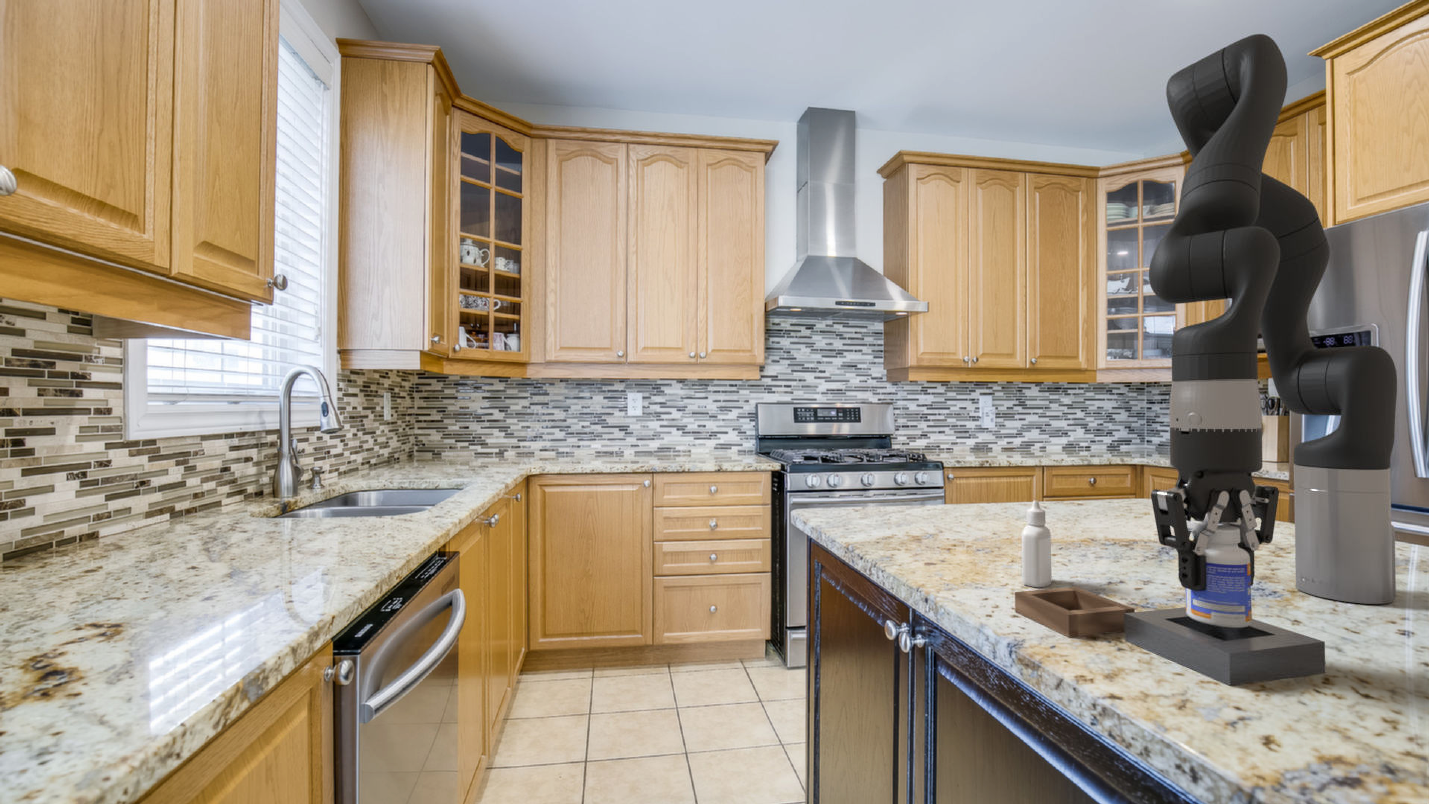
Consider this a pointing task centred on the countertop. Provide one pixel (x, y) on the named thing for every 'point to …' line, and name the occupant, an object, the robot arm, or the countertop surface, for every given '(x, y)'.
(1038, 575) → the eye dropper bottle
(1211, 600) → the pill bottle
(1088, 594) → the walnut stand
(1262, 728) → the countertop surface
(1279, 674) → the steel block
